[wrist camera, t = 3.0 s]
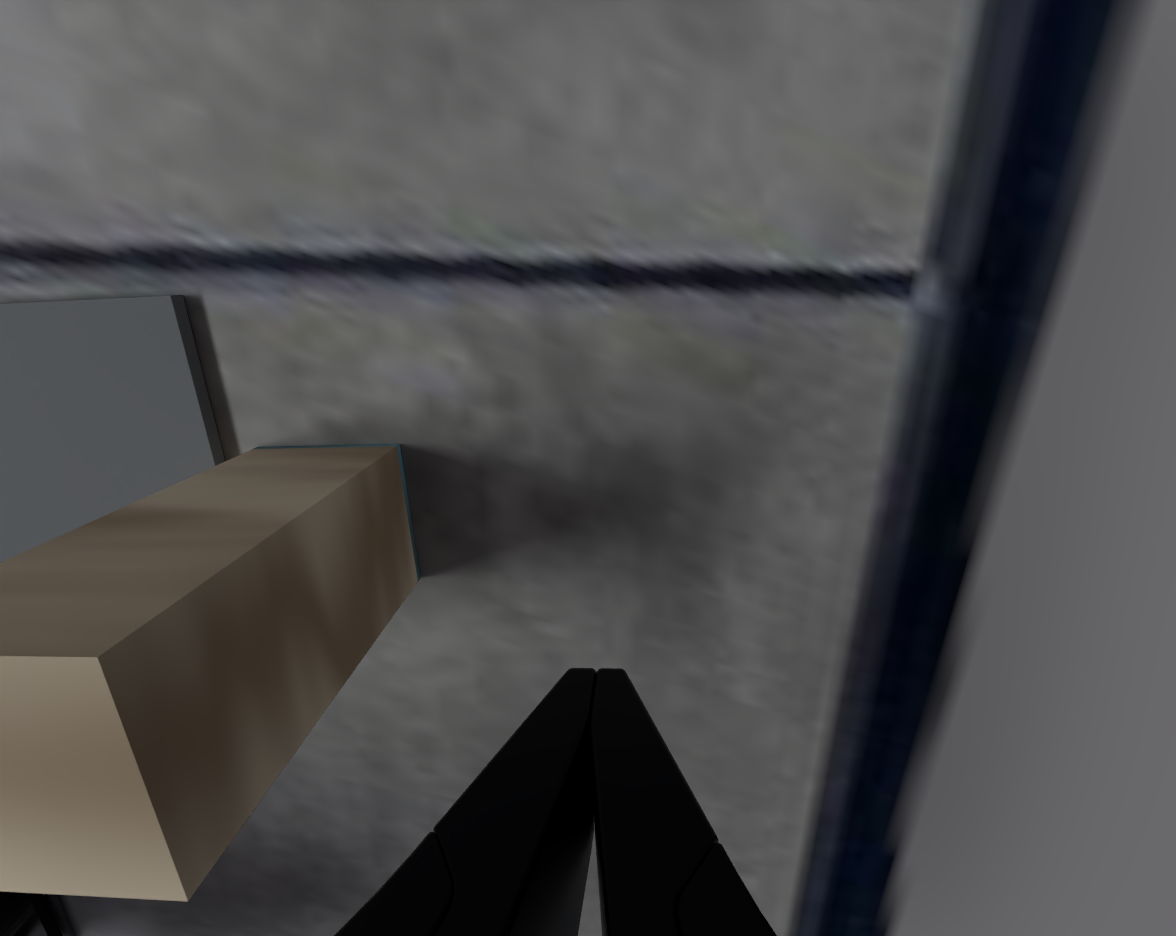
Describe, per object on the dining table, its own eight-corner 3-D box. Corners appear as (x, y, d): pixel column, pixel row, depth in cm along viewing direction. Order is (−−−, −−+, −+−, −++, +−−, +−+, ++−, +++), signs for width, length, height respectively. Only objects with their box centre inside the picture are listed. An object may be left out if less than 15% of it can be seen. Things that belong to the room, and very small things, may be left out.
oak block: (420, 578, 16) (188, 901, 8) (288, 577, 17) (-71, 887, 8) (399, 443, 15) (97, 657, 7) (257, 447, 16) (-202, 653, 7)
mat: (284, 690, 18) (276, 699, 18) (53, 686, 19) (41, 695, 18) (182, 295, 14) (170, 295, 14) (-101, 308, 15) (-120, 309, 15)
